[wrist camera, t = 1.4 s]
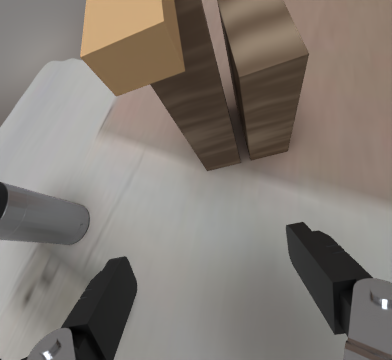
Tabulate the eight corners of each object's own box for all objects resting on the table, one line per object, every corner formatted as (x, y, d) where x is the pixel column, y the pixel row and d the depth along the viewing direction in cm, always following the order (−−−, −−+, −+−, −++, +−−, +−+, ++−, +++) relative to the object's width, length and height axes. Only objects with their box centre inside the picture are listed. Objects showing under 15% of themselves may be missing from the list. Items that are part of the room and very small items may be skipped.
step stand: (287, 151, 40) (345, -112, 12) (207, 171, 44) (99, 7, 15) (268, 95, 46) (275, -180, 17) (198, 116, 49) (105, -81, 21)
